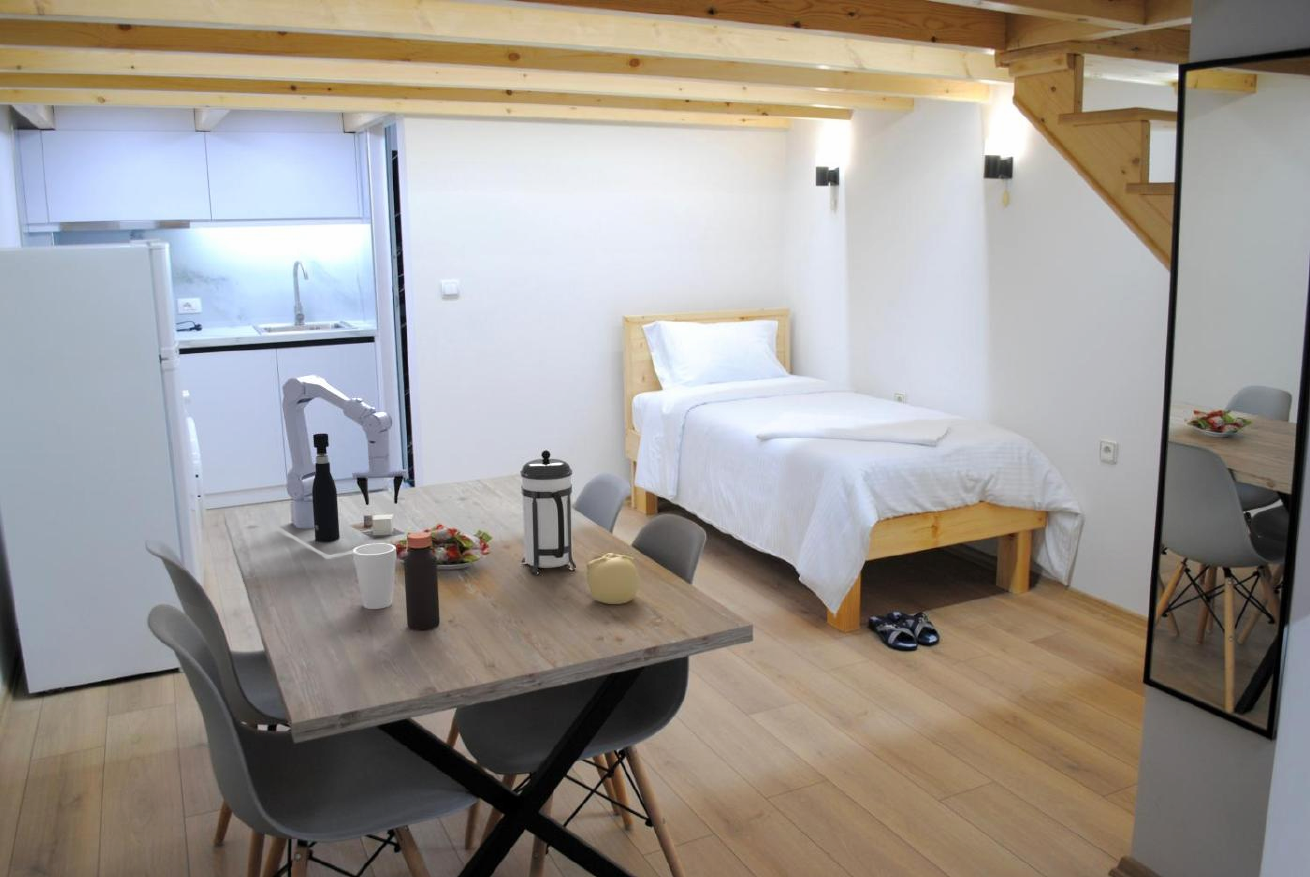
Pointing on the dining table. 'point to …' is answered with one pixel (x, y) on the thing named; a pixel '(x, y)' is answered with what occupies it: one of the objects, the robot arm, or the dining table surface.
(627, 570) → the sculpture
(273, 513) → the dining table surface
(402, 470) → the robot arm
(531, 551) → the coffee press
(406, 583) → the dark brown water bottle
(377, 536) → the mat
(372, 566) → the foam cup
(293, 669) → the dining table surface
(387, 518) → the white block
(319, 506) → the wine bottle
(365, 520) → the pin stand
